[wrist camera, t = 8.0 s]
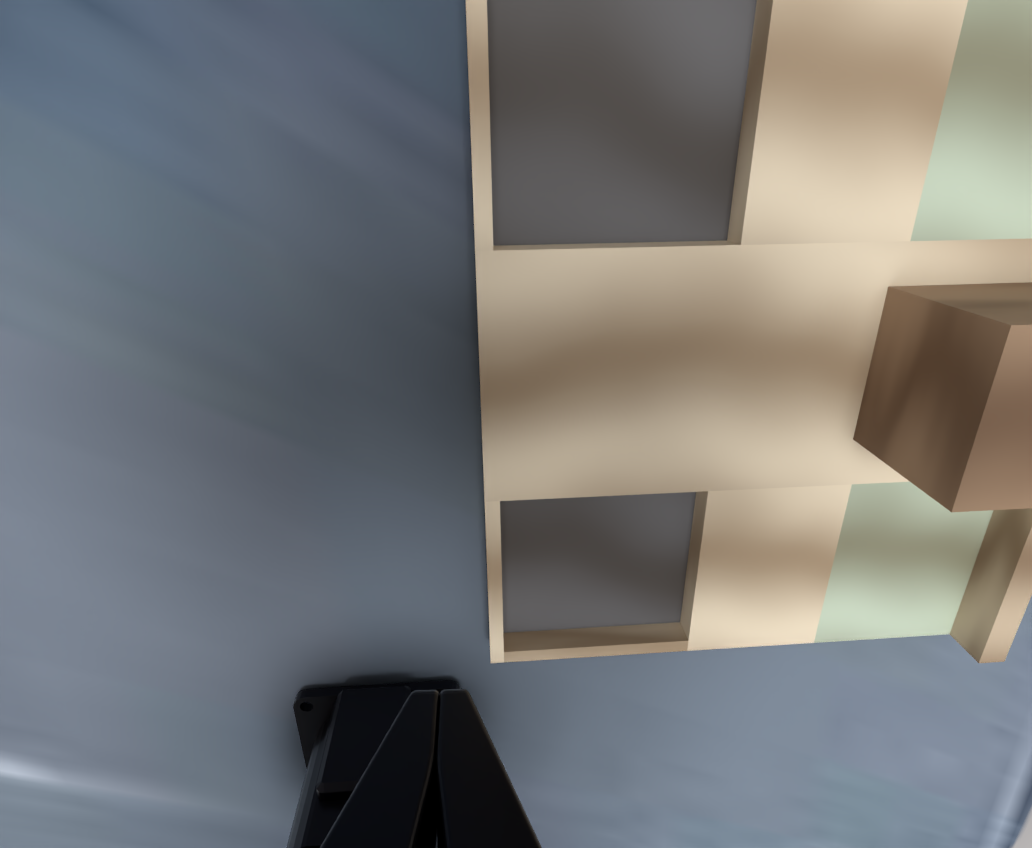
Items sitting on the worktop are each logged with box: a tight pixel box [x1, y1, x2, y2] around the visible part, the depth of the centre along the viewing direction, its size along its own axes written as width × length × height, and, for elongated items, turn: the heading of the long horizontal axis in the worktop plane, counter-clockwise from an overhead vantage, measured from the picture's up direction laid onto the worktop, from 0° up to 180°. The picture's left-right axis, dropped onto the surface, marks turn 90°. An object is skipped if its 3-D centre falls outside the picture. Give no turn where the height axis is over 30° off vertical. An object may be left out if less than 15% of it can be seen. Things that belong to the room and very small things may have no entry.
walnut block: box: [853, 282, 1032, 512], centre depth 17 cm, size 5×5×4 cm
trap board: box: [466, 0, 1032, 663], centre depth 19 cm, size 22×19×3 cm
